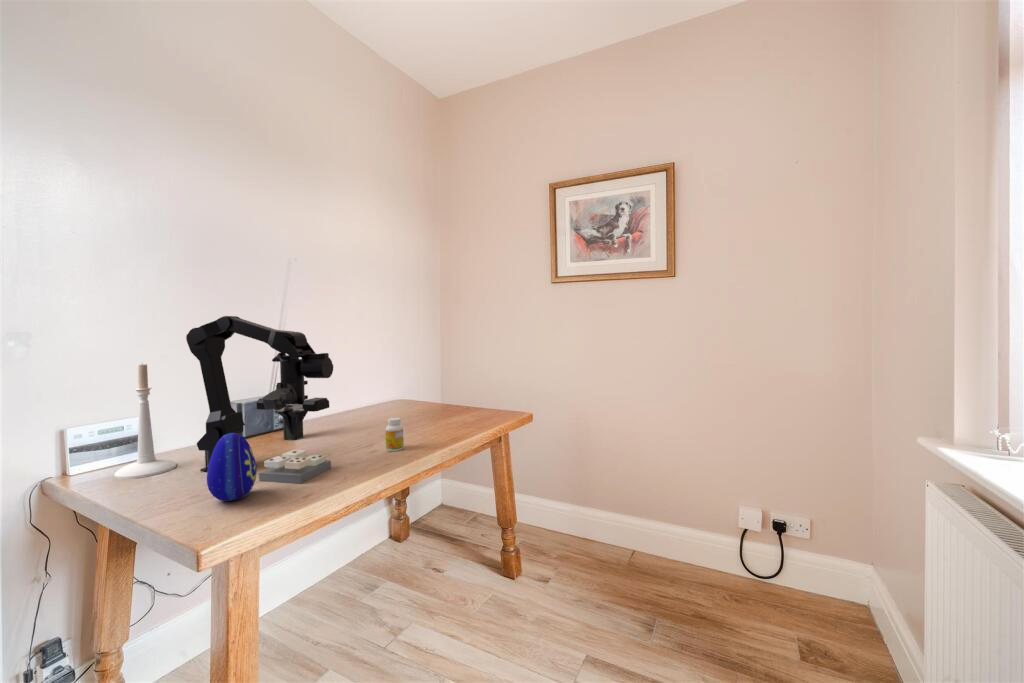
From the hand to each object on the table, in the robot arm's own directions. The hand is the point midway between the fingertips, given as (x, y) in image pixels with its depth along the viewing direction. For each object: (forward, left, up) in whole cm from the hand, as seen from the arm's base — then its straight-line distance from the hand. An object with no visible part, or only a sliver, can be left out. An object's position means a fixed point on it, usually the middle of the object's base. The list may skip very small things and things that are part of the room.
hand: (293, 434), depth 112 cm
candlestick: (-41, -7, -10) cm, 43 cm away
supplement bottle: (+18, +23, -10) cm, 31 cm away
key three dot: (+6, 0, -7) cm, 10 cm away
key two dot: (0, -6, -6) cm, 9 cm away
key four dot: (+6, -6, -6) cm, 10 cm away
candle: (-25, +30, -10) cm, 40 cm away
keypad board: (+3, -3, -10) cm, 10 cm away
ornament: (0, -19, -10) cm, 22 cm away
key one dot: (0, 0, -6) cm, 6 cm away
